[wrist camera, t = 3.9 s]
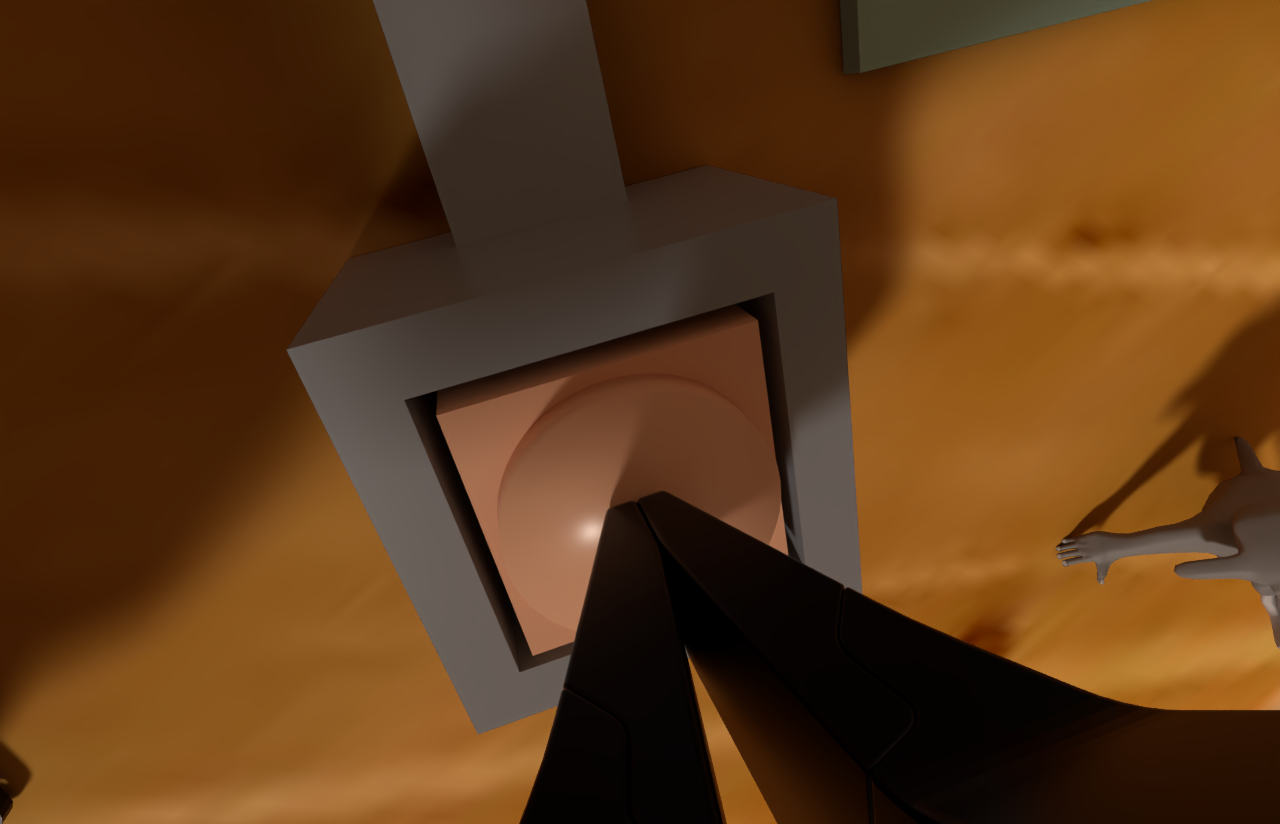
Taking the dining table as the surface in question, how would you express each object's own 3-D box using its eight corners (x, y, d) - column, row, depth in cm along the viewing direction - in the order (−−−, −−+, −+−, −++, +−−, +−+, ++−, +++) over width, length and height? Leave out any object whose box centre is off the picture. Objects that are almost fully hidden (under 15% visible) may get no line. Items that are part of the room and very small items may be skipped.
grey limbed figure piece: (1127, 642, 24) (1062, 660, 18) (1080, 482, 26) (1006, 448, 20) (1574, 624, 18) (1714, 642, 11) (1465, 412, 20) (1536, 328, 13)
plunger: (694, 433, 15) (806, 589, 10) (510, 491, 15) (537, 685, 10) (657, 247, 13) (776, 334, 8) (443, 307, 13) (435, 437, 8)
